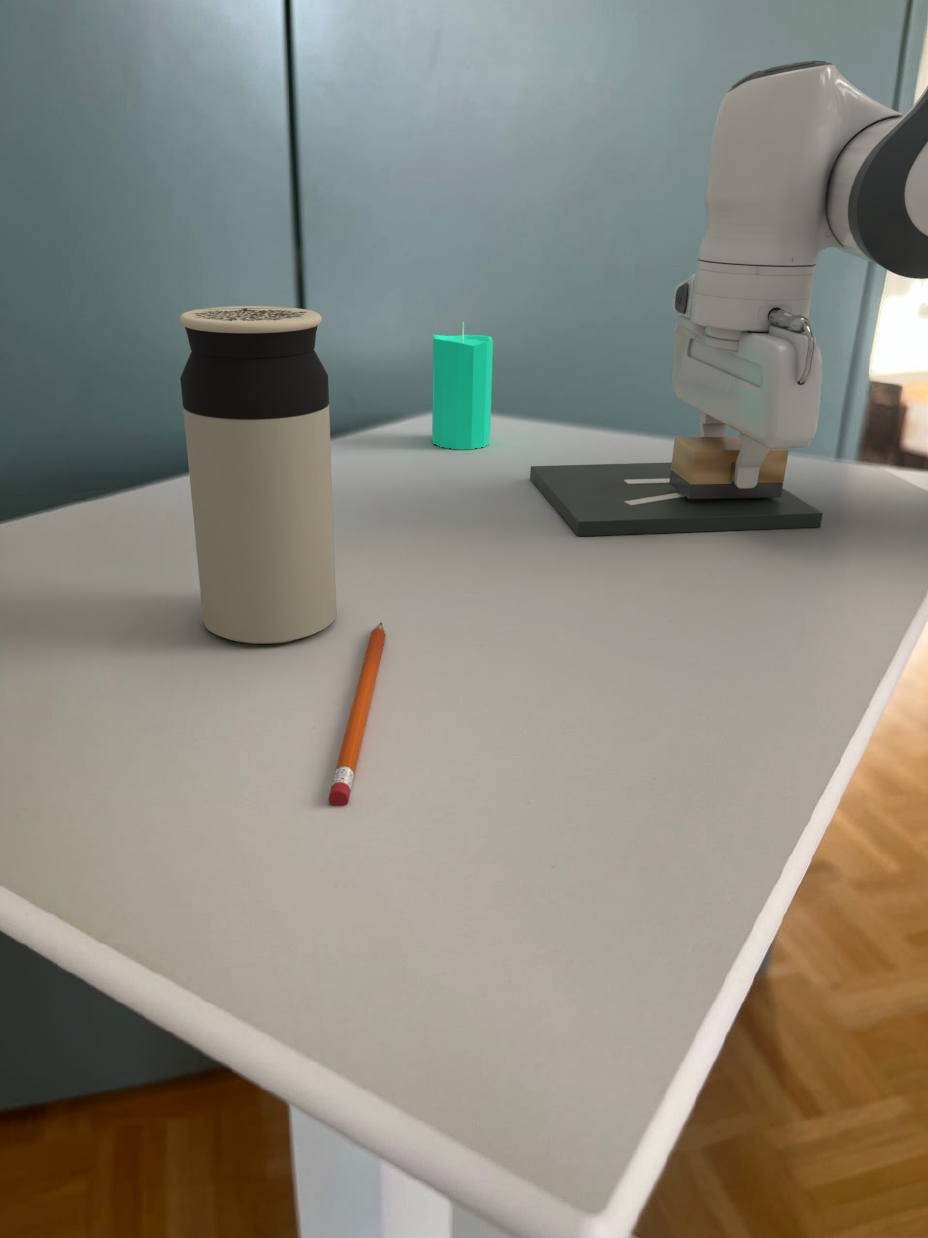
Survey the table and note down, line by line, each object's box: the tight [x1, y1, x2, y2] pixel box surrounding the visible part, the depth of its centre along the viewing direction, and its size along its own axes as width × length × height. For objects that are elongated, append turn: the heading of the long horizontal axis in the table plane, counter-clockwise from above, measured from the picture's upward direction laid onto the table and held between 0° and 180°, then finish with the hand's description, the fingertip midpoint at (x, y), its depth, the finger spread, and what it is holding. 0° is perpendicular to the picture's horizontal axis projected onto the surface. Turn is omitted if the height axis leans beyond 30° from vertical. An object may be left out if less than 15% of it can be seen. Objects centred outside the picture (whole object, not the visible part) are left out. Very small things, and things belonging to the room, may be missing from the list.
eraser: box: [669, 436, 790, 499], centre depth 82 cm, size 8×4×4 cm, turn 100°
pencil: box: [328, 621, 387, 807], centre depth 52 cm, size 1×19×1 cm, turn 179°
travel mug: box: [179, 305, 337, 645], centre depth 57 cm, size 8×8×18 cm
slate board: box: [529, 461, 823, 537], centre depth 85 cm, size 20×16×1 cm
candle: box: [431, 321, 494, 450], centre depth 100 cm, size 6×6×12 cm
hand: (727, 475), depth 83 cm, fingers closed on eraser, 4 cm apart
